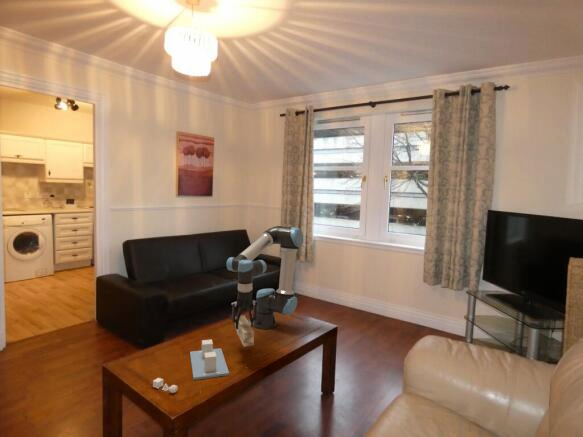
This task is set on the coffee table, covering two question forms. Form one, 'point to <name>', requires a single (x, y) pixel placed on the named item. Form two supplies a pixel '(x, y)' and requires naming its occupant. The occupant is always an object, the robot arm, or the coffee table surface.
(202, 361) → the blueprint board
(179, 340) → the coffee table surface
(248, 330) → the maple beam
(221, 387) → the coffee table surface
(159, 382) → the game pieces
